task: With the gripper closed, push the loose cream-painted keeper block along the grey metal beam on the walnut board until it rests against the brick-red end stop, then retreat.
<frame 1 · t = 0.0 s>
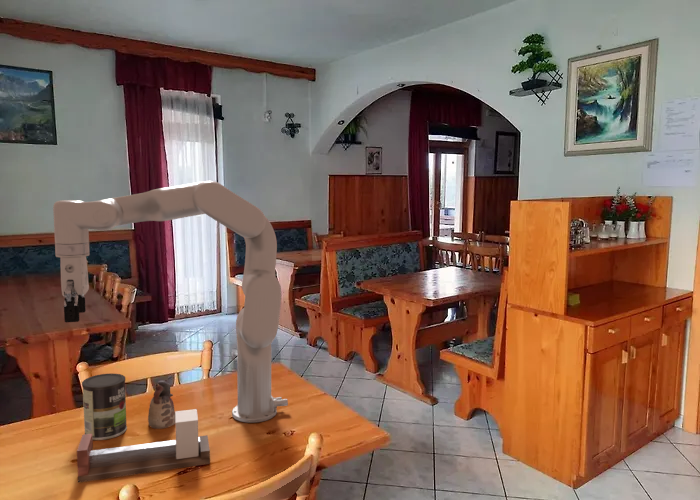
hand: (75, 317, 134), 31 cm above the table, fingers open, 9 cm apart
board: (147, 462, 125), on the table
coffee can: (106, 432, 140), on the table
keeper: (186, 433, 127), point 6 cm above the table, slide at 0.0 cm
beam: (146, 451, 124), point 3 cm above the table
figurine: (162, 423, 145), on the table
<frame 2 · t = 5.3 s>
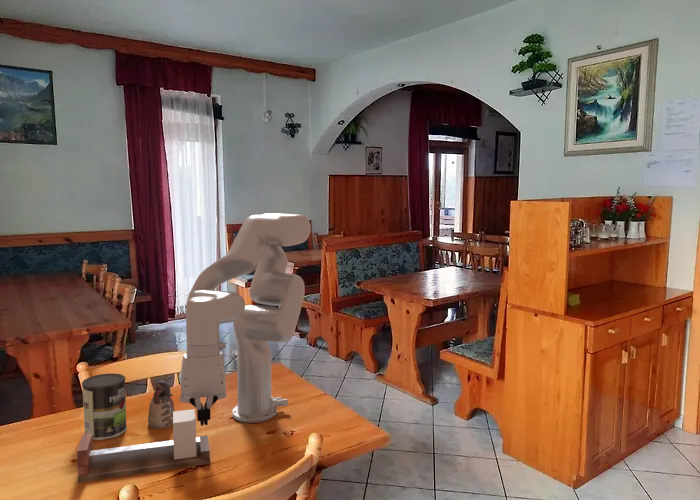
hand: (203, 422, 128), 8 cm above the table, fingers closed
keeper: (184, 433, 127), point 6 cm above the table, slide at 0.5 cm, touching gripper
everything else where it was.
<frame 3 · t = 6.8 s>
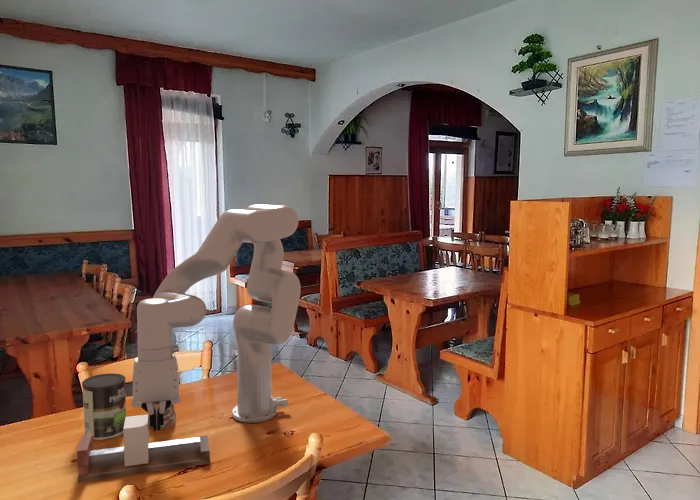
hand: (157, 428, 124), 8 cm above the table, fingers closed
keeper: (136, 439, 123), point 6 cm above the table, slide at 11.1 cm, touching gripper
everything else where it was.
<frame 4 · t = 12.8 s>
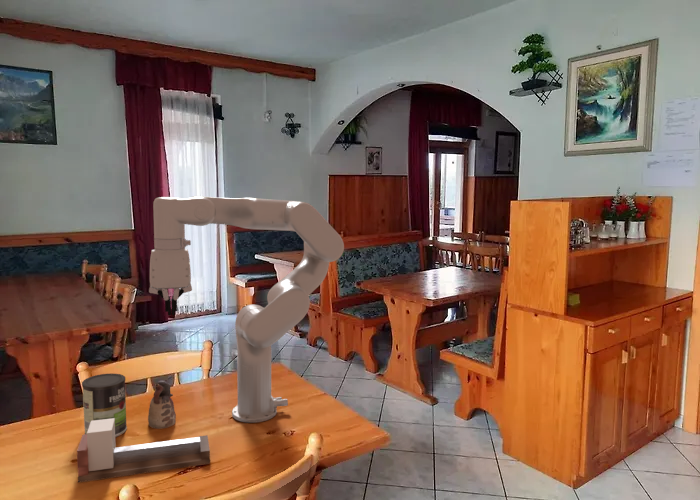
hand: (171, 314, 140), 31 cm above the table, fingers closed
keeper: (101, 444, 121), point 6 cm above the table, slide at 18.5 cm, touching board
everything else where it was.
at the end: keeper slide at 18.5 cm; keeper touching board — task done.
